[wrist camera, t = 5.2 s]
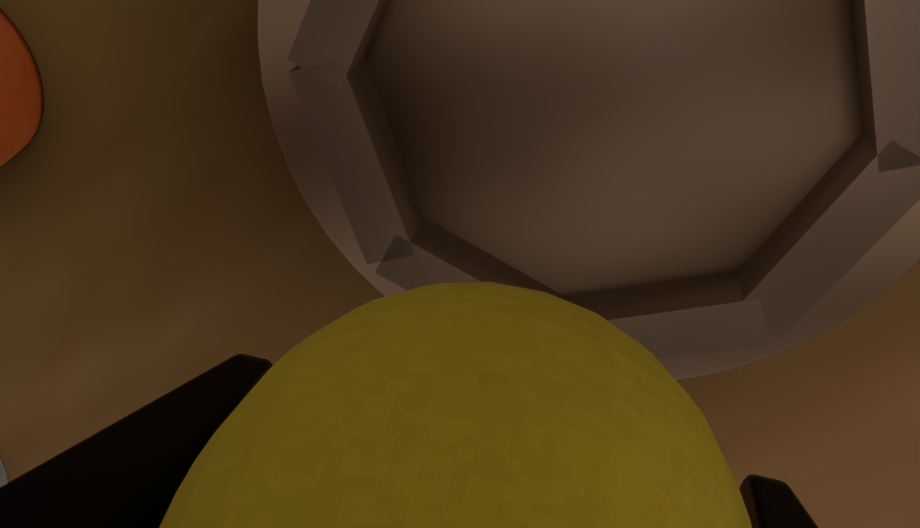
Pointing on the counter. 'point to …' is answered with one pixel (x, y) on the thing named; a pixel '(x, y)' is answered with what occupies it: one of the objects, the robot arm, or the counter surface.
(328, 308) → the counter surface
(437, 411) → the lemon
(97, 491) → the robot arm
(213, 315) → the counter surface
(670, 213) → the stand
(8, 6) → the counter surface
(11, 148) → the paper cup
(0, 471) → the mate gourd
